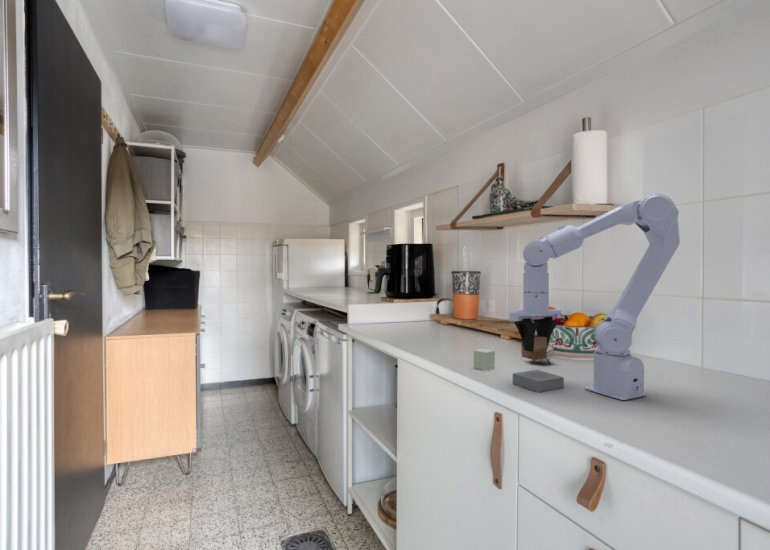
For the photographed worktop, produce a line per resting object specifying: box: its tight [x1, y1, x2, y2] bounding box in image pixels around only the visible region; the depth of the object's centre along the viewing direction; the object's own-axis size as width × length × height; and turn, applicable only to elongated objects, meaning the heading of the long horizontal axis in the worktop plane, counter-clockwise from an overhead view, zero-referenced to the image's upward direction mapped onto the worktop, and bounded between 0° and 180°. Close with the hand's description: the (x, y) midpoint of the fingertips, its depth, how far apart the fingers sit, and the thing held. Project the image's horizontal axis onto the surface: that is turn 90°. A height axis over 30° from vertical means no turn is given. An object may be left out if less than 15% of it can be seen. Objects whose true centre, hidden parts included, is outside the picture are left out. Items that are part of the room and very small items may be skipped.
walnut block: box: [521, 334, 547, 361], centre depth 101 cm, size 4×4×5 cm
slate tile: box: [512, 369, 565, 393], centre depth 100 cm, size 8×8×2 cm
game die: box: [531, 340, 558, 365], centre depth 124 cm, size 9×8×10 cm
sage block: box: [473, 348, 496, 372], centre depth 117 cm, size 4×4×5 cm
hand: (535, 349), depth 101 cm, fingers closed on walnut block, 4 cm apart
